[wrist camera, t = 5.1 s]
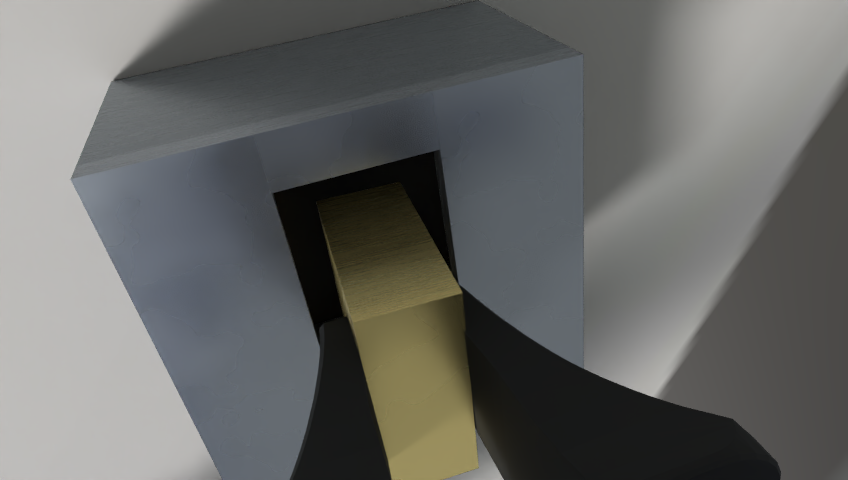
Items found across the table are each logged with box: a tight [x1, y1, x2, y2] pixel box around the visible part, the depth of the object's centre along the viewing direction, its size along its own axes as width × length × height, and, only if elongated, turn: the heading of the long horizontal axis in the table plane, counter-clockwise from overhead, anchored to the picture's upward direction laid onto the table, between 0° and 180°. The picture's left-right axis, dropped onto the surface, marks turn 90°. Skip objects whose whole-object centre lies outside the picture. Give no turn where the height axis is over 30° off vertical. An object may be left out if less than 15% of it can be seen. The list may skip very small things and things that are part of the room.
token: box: [316, 182, 479, 480], centre depth 14 cm, size 2×5×4 cm, turn 5°
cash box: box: [71, 1, 584, 480], centre depth 17 cm, size 10×10×6 cm
